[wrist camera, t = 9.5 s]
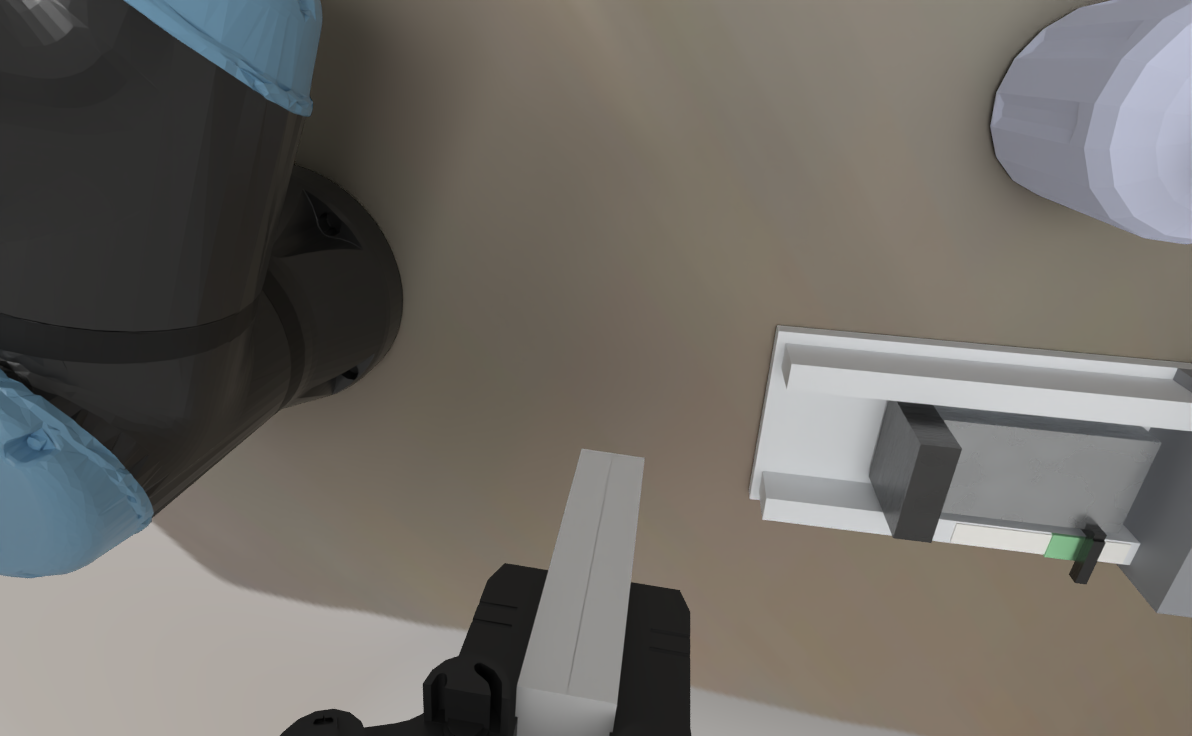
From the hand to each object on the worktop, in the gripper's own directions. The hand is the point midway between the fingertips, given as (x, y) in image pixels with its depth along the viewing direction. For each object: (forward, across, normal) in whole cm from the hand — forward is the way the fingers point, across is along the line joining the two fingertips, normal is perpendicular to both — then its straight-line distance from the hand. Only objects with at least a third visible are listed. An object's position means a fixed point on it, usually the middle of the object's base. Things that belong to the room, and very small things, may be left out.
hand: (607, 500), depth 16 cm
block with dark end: (+23, +22, -11) cm, 34 cm away
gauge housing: (+25, +20, -10) cm, 33 cm away
